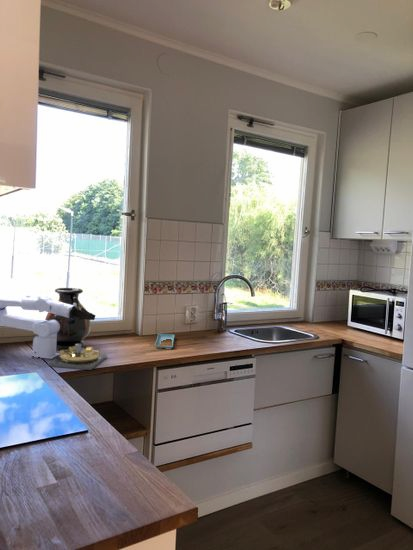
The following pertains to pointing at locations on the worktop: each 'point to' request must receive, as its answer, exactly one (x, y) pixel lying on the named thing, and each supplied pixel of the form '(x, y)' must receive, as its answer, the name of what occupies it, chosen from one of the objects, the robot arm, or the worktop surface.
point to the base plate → (84, 365)
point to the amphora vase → (70, 321)
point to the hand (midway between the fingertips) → (91, 317)
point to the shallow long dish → (164, 337)
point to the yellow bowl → (79, 354)
